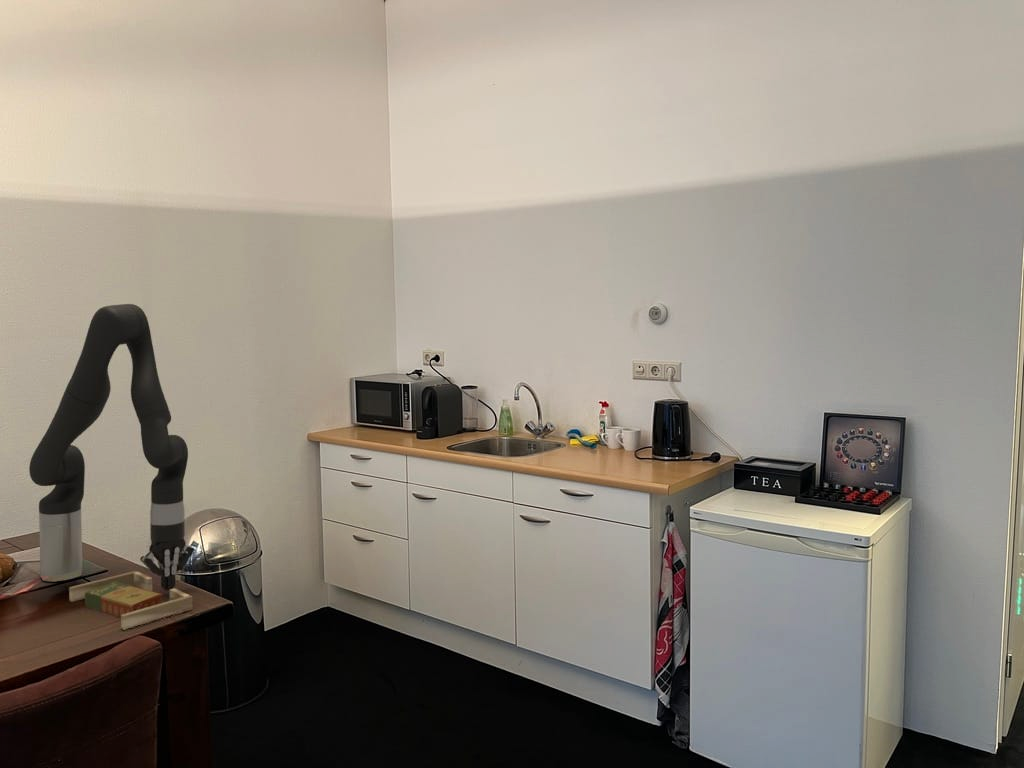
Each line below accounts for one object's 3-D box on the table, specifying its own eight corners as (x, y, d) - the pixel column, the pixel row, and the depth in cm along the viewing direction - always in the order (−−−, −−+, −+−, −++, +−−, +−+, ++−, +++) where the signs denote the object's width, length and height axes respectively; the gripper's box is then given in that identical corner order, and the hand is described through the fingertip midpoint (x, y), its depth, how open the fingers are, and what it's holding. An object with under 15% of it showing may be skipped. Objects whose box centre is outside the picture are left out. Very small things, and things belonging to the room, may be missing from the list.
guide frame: (69, 600, 190) (69, 587, 189) (136, 583, 202) (136, 570, 202) (123, 630, 174) (123, 616, 174) (192, 609, 187) (192, 596, 187)
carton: (131, 623, 180) (131, 604, 179) (83, 608, 187) (83, 590, 186) (163, 610, 187) (162, 592, 186) (115, 596, 194) (115, 579, 194)
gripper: (184, 511, 201) (185, 579, 203) (132, 521, 191) (133, 593, 193) (201, 517, 197) (202, 586, 198) (148, 528, 186) (149, 601, 188)
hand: (168, 589), depth 196 cm, fingers closed
